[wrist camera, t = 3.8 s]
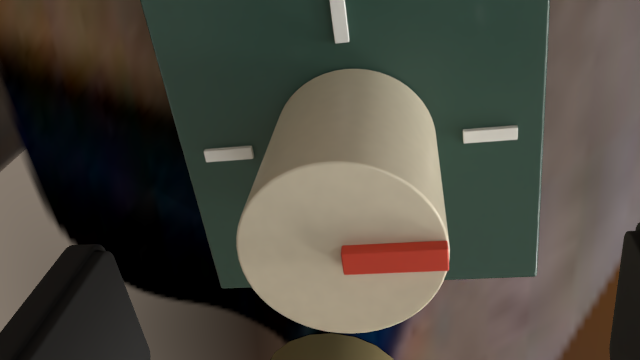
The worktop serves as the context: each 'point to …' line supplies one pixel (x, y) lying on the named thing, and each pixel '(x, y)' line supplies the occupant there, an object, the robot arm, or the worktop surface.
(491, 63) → the panel
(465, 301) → the worktop surface
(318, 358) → the cork
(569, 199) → the worktop surface
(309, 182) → the grip knob
